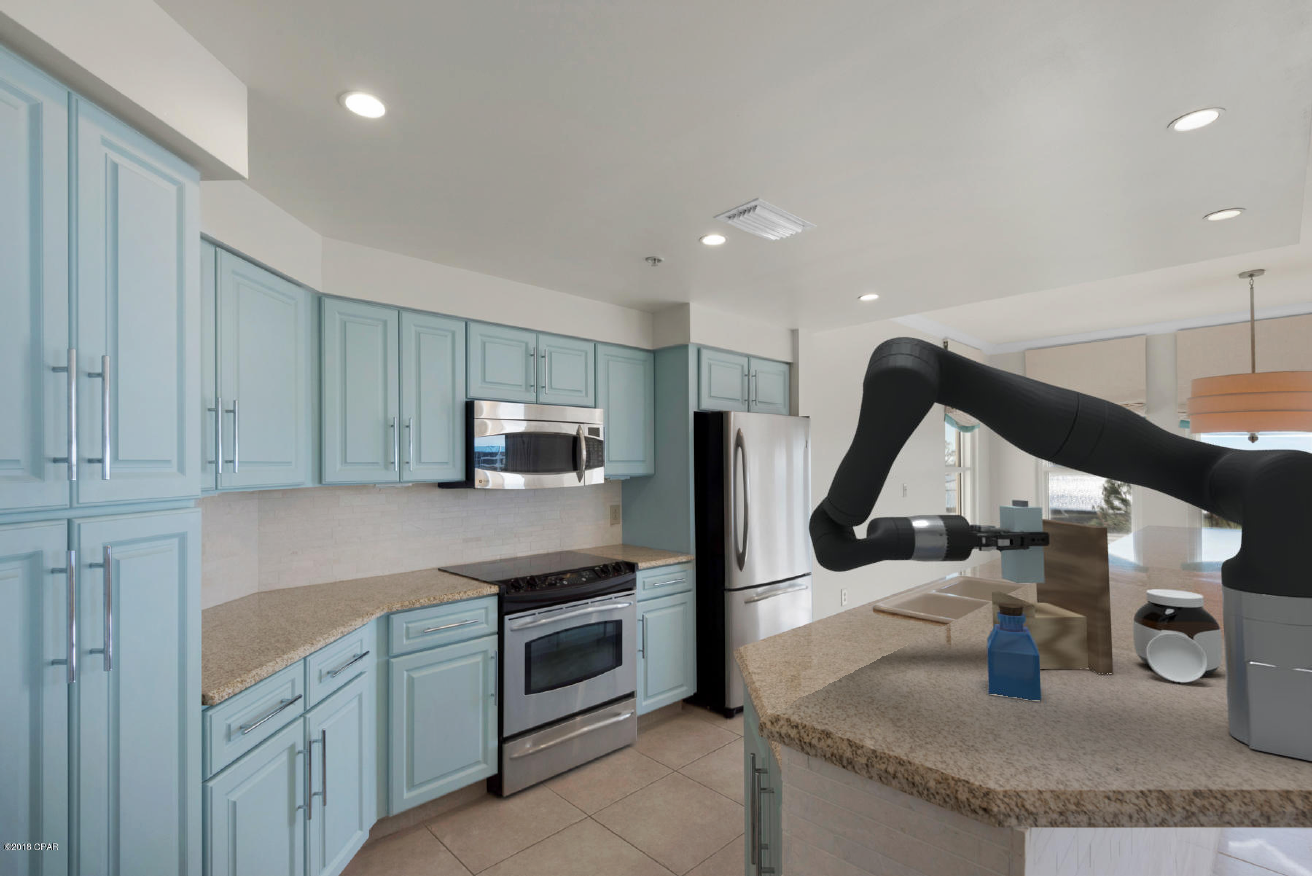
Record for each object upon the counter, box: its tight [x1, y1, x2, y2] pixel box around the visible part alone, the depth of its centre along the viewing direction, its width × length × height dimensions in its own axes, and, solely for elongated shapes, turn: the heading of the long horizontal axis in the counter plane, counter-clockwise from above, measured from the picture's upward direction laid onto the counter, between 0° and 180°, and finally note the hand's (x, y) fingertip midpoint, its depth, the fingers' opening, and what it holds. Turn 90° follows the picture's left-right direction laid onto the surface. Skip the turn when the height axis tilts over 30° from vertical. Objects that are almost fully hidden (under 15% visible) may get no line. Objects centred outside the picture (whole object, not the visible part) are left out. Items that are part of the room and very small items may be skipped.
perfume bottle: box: [986, 603, 1042, 701], centre depth 89 cm, size 6×6×12 cm
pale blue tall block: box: [998, 499, 1045, 584], centre depth 103 cm, size 4×4×13 cm
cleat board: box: [991, 518, 1114, 675], centre depth 103 cm, size 11×15×22 cm
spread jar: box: [1132, 588, 1223, 684], centre depth 95 cm, size 12×11×12 cm
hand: (1037, 536), depth 103 cm, fingers closed on pale blue tall block, 4 cm apart
